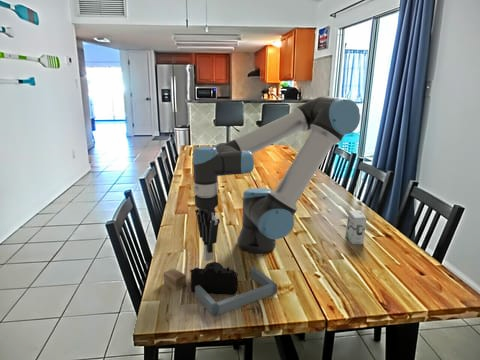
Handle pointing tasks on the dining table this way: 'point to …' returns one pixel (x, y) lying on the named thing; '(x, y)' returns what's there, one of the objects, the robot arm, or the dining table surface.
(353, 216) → the ink box
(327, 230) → the dining table surface
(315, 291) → the dining table surface
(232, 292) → the film camera
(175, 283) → the oak chock block
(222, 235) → the dining table surface
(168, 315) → the dining table surface
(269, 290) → the bay
